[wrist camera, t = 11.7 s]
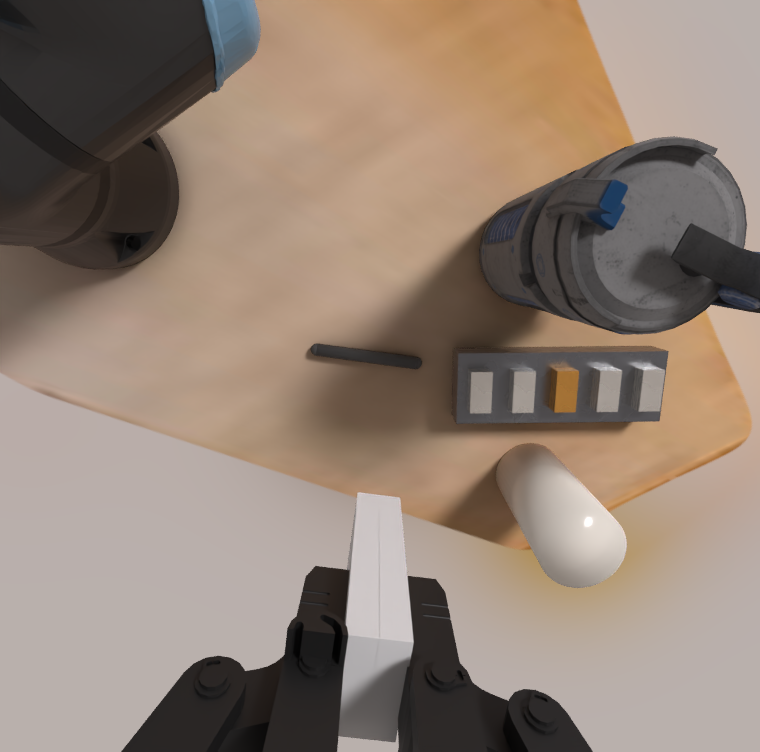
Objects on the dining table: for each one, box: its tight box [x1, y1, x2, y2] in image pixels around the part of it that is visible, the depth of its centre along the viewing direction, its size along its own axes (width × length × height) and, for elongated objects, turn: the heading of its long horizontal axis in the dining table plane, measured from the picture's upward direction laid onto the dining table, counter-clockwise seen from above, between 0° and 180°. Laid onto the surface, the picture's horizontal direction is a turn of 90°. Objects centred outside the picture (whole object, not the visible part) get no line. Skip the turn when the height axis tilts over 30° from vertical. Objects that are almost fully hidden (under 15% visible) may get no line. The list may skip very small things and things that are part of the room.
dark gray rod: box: [311, 344, 422, 369], centre depth 48 cm, size 11×1×1 cm, turn 82°
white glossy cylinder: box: [496, 443, 627, 588], centre depth 45 cm, size 7×7×14 cm
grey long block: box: [452, 346, 668, 424], centre depth 47 cm, size 20×7×5 cm, turn 91°
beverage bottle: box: [479, 137, 760, 334], centre depth 34 cm, size 10×13×25 cm
